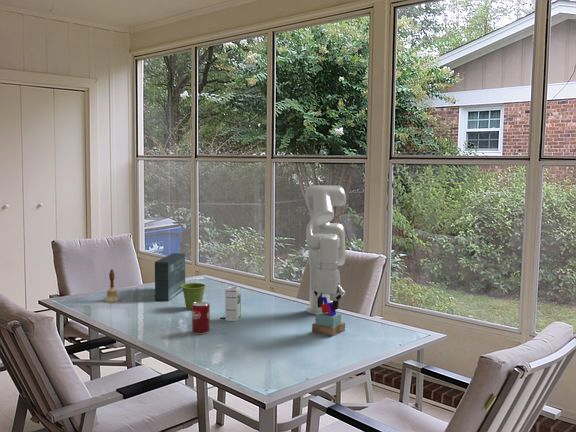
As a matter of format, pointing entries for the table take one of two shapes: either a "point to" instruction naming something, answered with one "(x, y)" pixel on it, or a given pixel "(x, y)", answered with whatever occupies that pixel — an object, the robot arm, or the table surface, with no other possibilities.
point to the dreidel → (327, 307)
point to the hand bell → (112, 290)
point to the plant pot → (193, 293)
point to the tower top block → (328, 319)
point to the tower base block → (328, 329)
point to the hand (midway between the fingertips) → (327, 308)
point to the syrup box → (232, 303)
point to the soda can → (200, 317)
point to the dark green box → (169, 276)
